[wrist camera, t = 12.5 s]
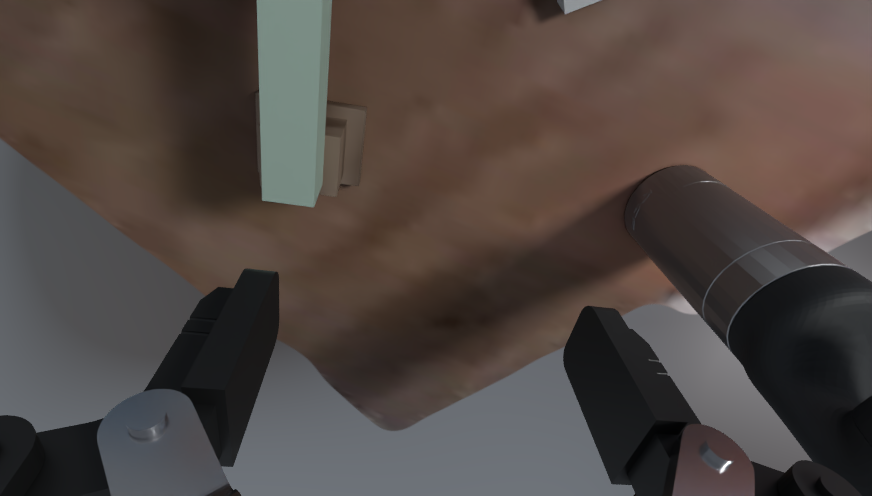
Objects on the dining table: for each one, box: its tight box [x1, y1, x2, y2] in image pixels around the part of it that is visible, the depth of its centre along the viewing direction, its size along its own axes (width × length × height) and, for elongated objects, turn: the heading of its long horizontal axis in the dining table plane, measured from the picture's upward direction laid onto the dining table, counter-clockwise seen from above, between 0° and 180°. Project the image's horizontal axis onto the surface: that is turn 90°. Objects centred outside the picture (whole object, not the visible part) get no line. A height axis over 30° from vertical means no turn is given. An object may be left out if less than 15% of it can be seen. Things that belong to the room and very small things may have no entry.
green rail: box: [257, 0, 332, 207], centre depth 27 cm, size 4×24×4 cm, turn 169°
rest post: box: [255, 90, 367, 197], centre depth 36 cm, size 9×7×6 cm
